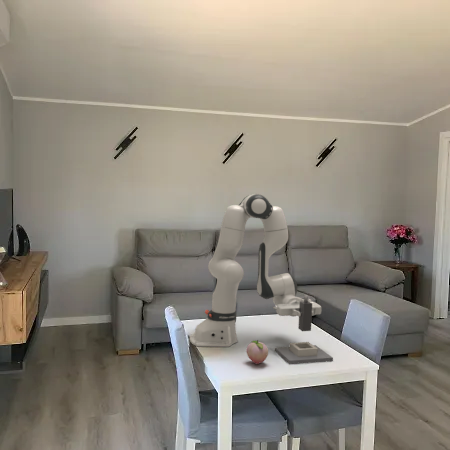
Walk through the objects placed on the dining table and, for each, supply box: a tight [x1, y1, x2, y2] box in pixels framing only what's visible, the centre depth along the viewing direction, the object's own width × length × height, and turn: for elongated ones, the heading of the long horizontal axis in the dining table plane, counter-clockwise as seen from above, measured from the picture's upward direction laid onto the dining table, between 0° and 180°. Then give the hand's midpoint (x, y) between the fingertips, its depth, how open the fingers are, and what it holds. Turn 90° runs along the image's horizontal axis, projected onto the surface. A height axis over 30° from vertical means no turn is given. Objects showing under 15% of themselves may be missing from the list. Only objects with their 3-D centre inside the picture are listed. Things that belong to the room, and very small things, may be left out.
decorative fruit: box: [245, 339, 269, 365], centre depth 191 cm, size 9×8×10 cm
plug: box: [297, 294, 313, 332], centre depth 201 cm, size 4×4×15 cm
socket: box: [274, 341, 334, 365], centre depth 202 cm, size 20×16×4 cm
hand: (306, 314), depth 200 cm, fingers closed on plug, 4 cm apart
